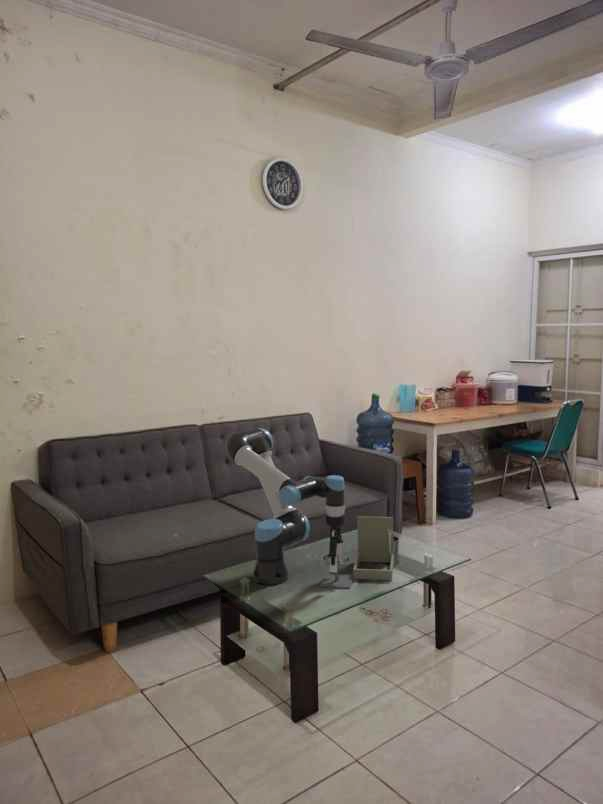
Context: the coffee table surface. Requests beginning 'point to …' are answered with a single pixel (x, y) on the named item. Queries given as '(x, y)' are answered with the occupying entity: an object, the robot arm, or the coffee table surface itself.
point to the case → (374, 546)
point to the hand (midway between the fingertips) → (335, 565)
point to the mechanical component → (337, 564)
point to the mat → (330, 581)
